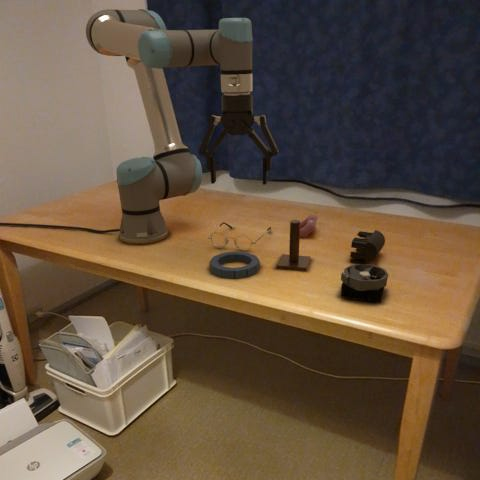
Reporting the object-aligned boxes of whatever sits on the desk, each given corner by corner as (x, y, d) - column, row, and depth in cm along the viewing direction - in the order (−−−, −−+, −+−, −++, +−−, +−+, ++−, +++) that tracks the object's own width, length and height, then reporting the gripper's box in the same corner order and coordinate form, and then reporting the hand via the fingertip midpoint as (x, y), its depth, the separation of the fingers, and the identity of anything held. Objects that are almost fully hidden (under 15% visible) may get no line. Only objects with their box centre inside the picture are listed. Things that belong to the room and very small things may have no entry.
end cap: (375, 267, 128) (378, 243, 124) (349, 263, 130) (351, 239, 127) (383, 254, 135) (386, 231, 132) (358, 250, 138) (360, 227, 135)
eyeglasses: (204, 248, 143) (203, 232, 140) (227, 228, 158) (227, 213, 155) (255, 253, 138) (255, 237, 135) (274, 232, 153) (274, 217, 150)
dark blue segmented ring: (204, 275, 125) (203, 268, 124) (219, 257, 136) (218, 249, 135) (252, 280, 122) (252, 272, 121) (263, 260, 133) (263, 253, 132)
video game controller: (308, 243, 148) (319, 224, 144) (295, 236, 148) (306, 217, 144) (310, 232, 156) (321, 214, 153) (298, 226, 156) (308, 207, 152)
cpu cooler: (390, 265, 114) (385, 283, 106) (387, 287, 117) (382, 306, 109) (346, 260, 117) (338, 277, 109) (344, 281, 120) (336, 299, 112)
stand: (276, 268, 128) (277, 225, 122) (282, 257, 135) (282, 215, 129) (306, 271, 126) (308, 227, 120) (310, 259, 133) (312, 217, 127)
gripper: (182, 95, 114) (189, 185, 125) (287, 94, 110) (285, 187, 121) (190, 92, 120) (196, 178, 131) (290, 91, 117) (287, 180, 127)
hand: (239, 183), depth 126 cm, fingers open, 13 cm apart
